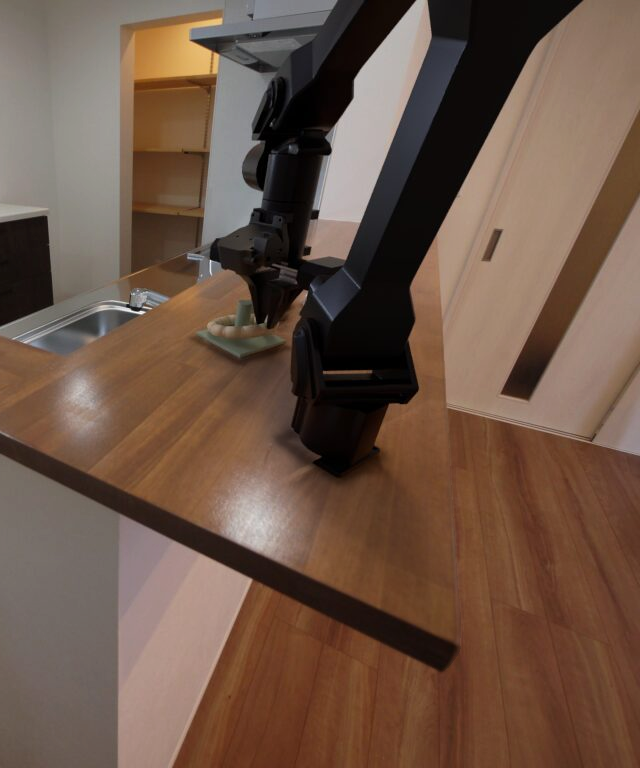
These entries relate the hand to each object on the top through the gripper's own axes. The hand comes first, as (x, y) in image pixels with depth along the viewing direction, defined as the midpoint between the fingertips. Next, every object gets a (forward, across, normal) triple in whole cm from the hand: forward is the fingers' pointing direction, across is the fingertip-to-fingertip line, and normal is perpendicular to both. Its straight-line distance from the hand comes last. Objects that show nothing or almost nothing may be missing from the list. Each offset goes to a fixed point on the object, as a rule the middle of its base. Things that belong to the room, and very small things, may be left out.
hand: (265, 326), depth 57 cm
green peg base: (+4, -4, 0) cm, 6 cm away
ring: (+1, -4, 0) cm, 4 cm away
